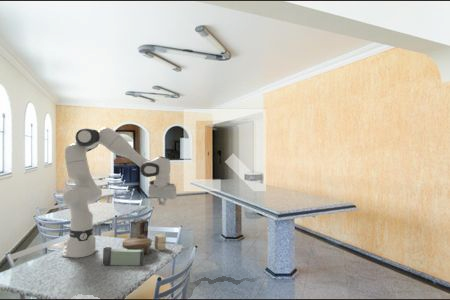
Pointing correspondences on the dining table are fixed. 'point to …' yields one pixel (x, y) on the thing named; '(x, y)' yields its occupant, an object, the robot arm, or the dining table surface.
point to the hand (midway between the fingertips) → (161, 204)
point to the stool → (137, 244)
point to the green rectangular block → (122, 256)
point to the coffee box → (139, 229)
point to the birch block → (160, 242)
